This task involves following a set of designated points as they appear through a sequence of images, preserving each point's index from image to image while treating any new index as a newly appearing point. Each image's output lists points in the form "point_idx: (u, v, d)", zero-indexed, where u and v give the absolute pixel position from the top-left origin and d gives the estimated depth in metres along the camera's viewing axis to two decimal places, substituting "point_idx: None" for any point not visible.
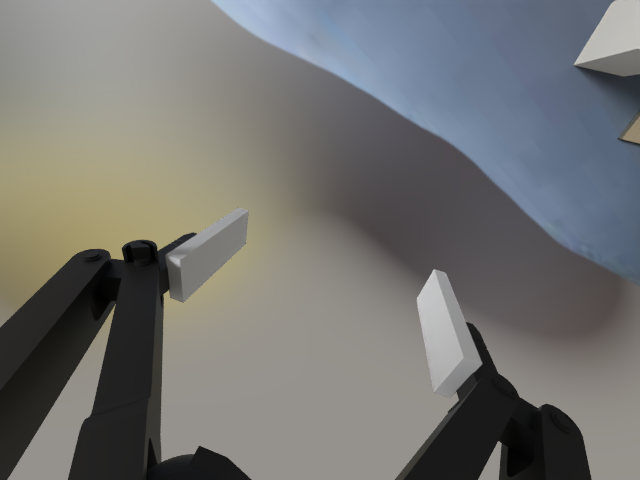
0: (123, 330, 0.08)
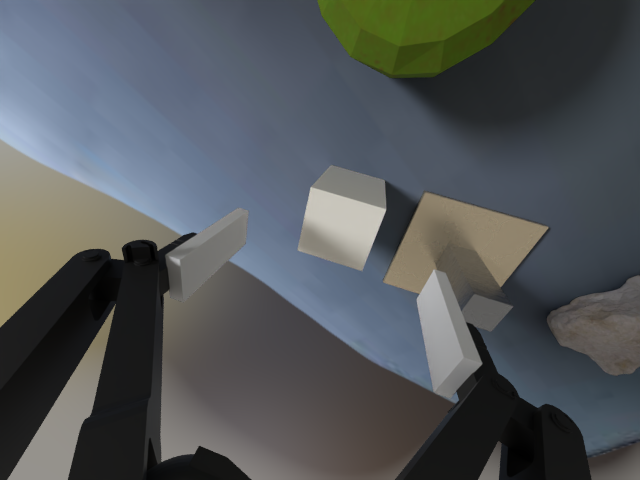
0: (123, 330, 0.08)
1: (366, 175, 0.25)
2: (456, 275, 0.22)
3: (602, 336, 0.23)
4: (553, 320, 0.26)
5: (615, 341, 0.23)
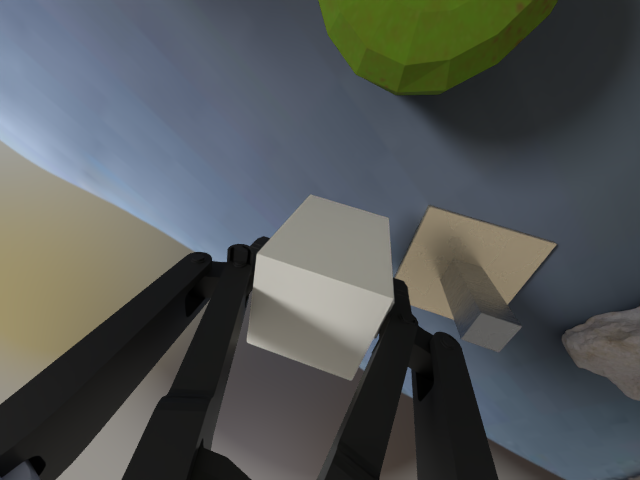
0: (210, 322, 0.09)
1: (361, 210, 0.17)
2: (462, 292, 0.22)
3: (622, 358, 0.22)
4: (569, 340, 0.25)
5: (636, 364, 0.22)
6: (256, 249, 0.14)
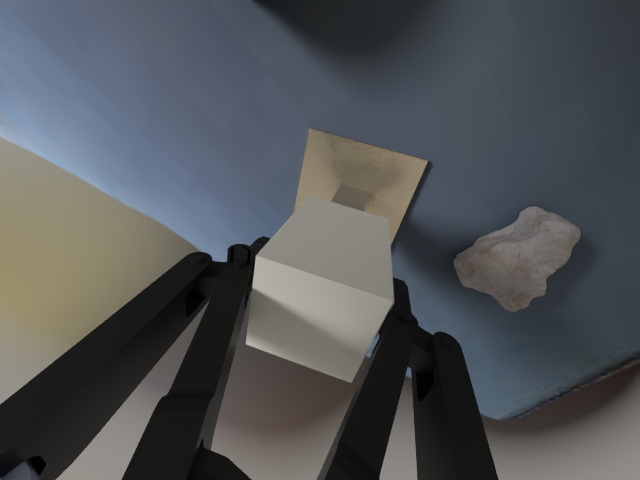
0: (210, 322, 0.09)
1: (361, 212, 0.17)
2: None
3: (492, 268, 0.23)
4: (454, 261, 0.26)
5: (502, 271, 0.22)
6: (256, 249, 0.14)
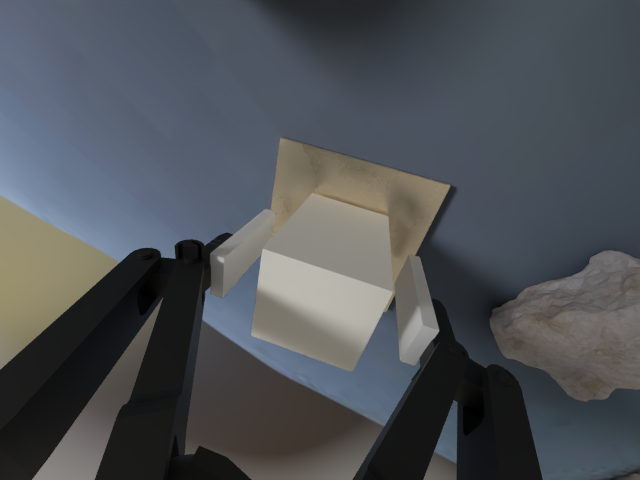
0: (166, 323, 0.08)
1: (362, 209, 0.17)
2: None
3: (554, 344, 0.15)
4: (492, 322, 0.18)
5: (572, 351, 0.15)
6: (215, 245, 0.14)
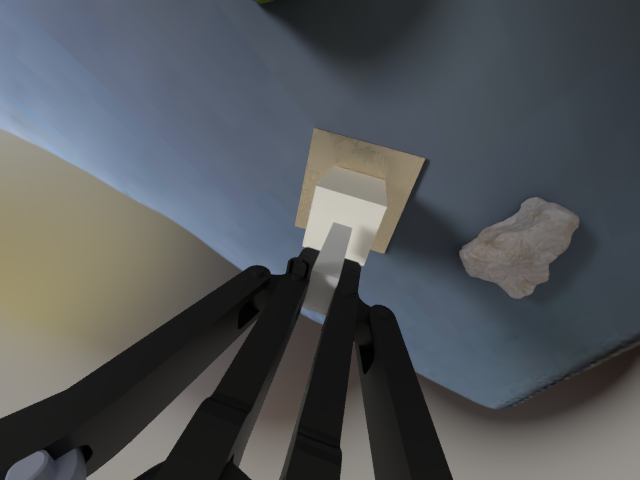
0: (260, 332, 0.09)
1: (367, 175, 0.26)
2: None
3: (496, 257, 0.24)
4: (460, 252, 0.27)
5: (506, 260, 0.24)
6: None
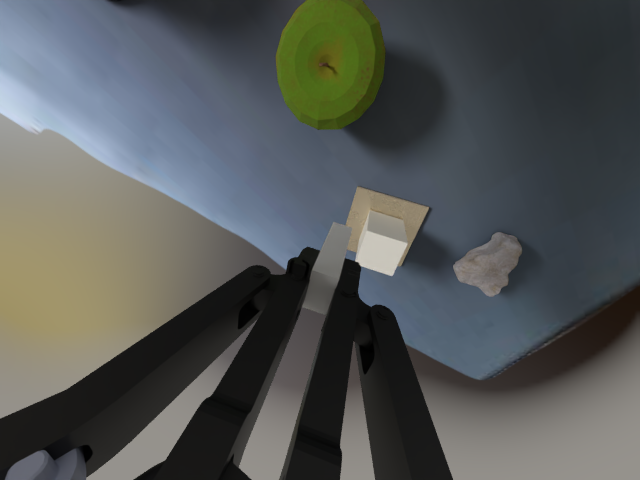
0: (260, 332, 0.09)
1: (392, 217, 0.41)
2: None
3: (476, 270, 0.38)
4: (453, 266, 0.41)
5: (482, 272, 0.38)
6: None
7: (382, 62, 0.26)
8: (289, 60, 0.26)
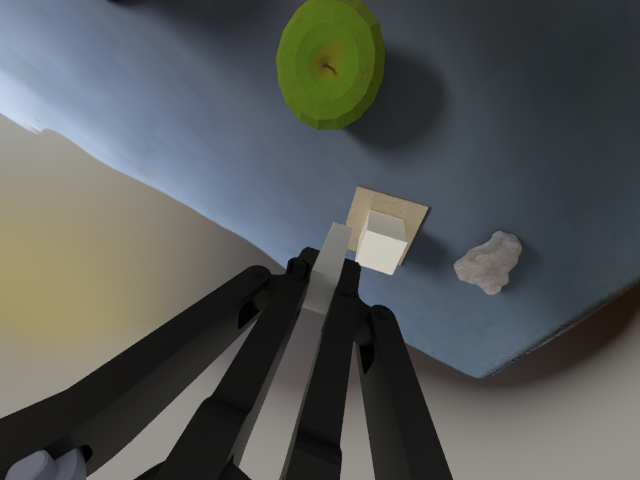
0: (260, 332, 0.09)
1: (391, 216, 0.41)
2: None
3: (476, 269, 0.38)
4: (454, 265, 0.41)
5: (482, 270, 0.38)
6: None
7: (382, 63, 0.26)
8: (289, 60, 0.26)
